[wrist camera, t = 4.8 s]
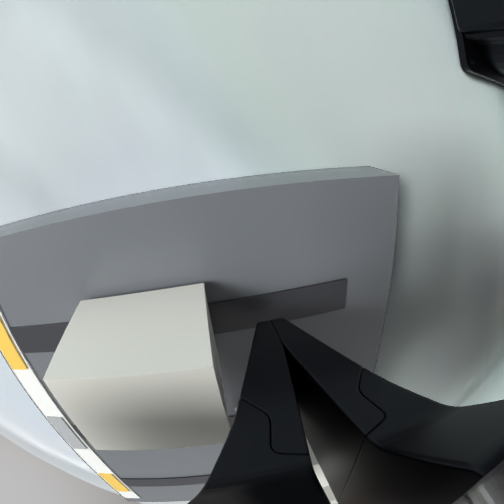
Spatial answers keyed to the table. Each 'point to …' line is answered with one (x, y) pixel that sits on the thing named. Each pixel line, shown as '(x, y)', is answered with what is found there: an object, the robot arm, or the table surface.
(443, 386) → the table surface
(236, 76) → the table surface
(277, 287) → the switch panel
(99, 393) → the switch tab
